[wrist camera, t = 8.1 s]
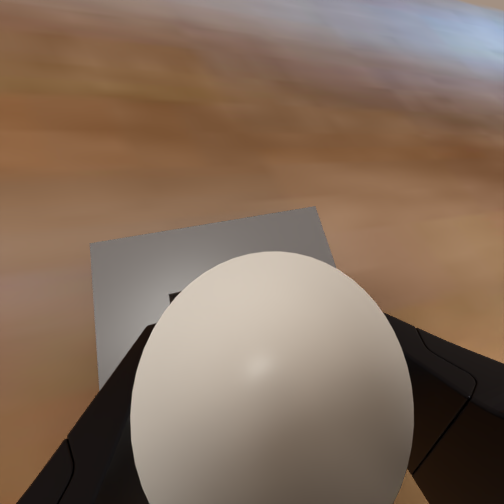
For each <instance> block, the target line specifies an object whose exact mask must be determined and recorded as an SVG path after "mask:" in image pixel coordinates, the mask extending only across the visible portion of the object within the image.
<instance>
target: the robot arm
mask: <svg viewBox="0 0 504 504" xmlns="http://www.w3.org/2000/svg"><path fill="white" fill-rule="evenodd" d="M383 313H384V312H383ZM384 315H385V316H386V318H387V320H388V322H389V323H390V325H391V327H392V328H393V330H394V332H395V334H396V337H397V339H398V341H399V343H400V346H401V348H402V351H403V354H404V357H405V360H406V363H407V366H408V371H409V376H410V380H411V385H412V394H413V403H414V429H413V439H412V447H411V452H410V457H409V462H408V467H407V469H408V470H409V472H410V473H411V475H412V477H413V479H414V480H415V482H416V483H417V485H418V486H419V488H420V490H421V491H422V493H423V494H424V496H425V497H426V499H427V501H428V502H429V504H504V364H503V363H501V362H498V361H496V360H493V359H490V358H488V357H485V356H483V355H480V354H478V353H475V352H473V351H470V350H468V349H465V348H463V347H460V346H458V345H455V344H453V343H450V342H448V341H446V340H443V339H441V338H439V337H437V336H434V335H432V334H430V333H428V332H425V331H423V330H421V329H419V328H415V327H414V326H412V325H410V324H408V323H406V322H403V321H401V320H399V319H397V318H395V317H392V316H390V315H388V314H386V313H384ZM156 324H157V323H155V324H151V325H148V326H146V328H145V329H144V330H143V332H142V333H141V334H140V336H139V337H138V339H137V340H136V341H135V343H134V344H133V345H132V347H131V348H130V350H129V351H128V352H127V354H126V355H125V357H124V358H123V359H122V361H121V362H120V363H119V365H118V366H117V368H116V369H115V370H114V372H113V373H112V375H111V376H110V377H109V379H108V380H107V381H106V383H105V384H104V386H103V387H102V388H101V390H100V391H99V392H98V394H97V395H96V397H95V398H94V399H93V401H92V402H91V404H90V405H89V406H88V408H87V409H86V410H85V412H84V413H83V415H82V416H81V417H80V419H79V420H78V421H77V423H76V424H75V426H74V427H73V428H72V430H71V431H70V433H69V434H68V435H67V438H68V439H65V440H64V441H63V442H62V443H61V445H60V446H59V448H58V449H57V450H56V452H55V453H54V454H53V456H52V457H51V459H50V460H49V461H48V463H47V464H46V465H45V467H44V468H43V469H42V471H41V472H40V473H39V475H38V476H37V477H36V479H35V480H34V481H33V483H32V484H31V485H30V487H29V488H28V489H27V490H26V492H25V493H24V494H23V495H22V497H21V498H20V499H19V500H18V502H17V503H16V504H149V502H148V499H147V497H146V495H145V493H144V491H143V489H142V485H141V482H140V479H139V475H138V472H137V469H136V466H135V460H134V454H133V448H132V442H131V422H130V413H131V401H132V391H133V386H134V381H135V377H136V372H137V368H138V365H139V362H140V359H141V356H142V353H143V350H144V347H145V345H146V343H147V341H148V339H149V337H150V335H151V333H152V330H153V329H154V327H155V325H156Z"/></svg>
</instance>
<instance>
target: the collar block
mask: <svg viewBox="0 0 504 504" xmlns="http://www.w3.org/2000/svg"><path fill="white" fill-rule="evenodd" d="M273 251H281V252H289V253H297V254H301V255H305V256H309V257H312V258H315V259H317V260H320V261H322V262H325V263H327V264H329V265H331V266H332V267H334V268H336V266H335V263H334V260H333V257H332V254H331V251H330V248H329V245H328V242H327V239H326V236H325V233H324V231H323V228H322V225H321V222H320V219H319V216H318V213H317V210H316V207H315V206H314V207H308V208H302V209H296V210H290V211H284V212H278V213H272V214H265V215H259V216H253V217H247V218H241V219H235V220H229V221H223V222H217V223H211V224H205V225H199V226H193V227H187V228H181V229H175V230H169V231H163V232H157V233H150V234H144V235H138V236H132V237H126V238H120V239H114V240H108V241H102V242H96V243H90V254H91V269H92V284H93V300H94V315H95V330H96V345H97V361H98V376H99V391H100V390H101V388H102V387H103V386H104V384H105V383H106V381H107V380H108V379H109V377H110V376H111V375H112V373H113V372H114V370H115V369H116V368H117V366H118V365H119V363H120V362H121V361H122V359H123V358H124V357H125V355H126V354H127V352H128V351H129V350H130V348H131V347H132V345H133V344H134V343H135V341H136V340H137V339H138V337H139V336H140V334H141V333H142V332H143V330H144V329H145V328H146V326H148V325H151V324H155V323H157V322H158V321H159V319H160V317H161V316H162V314H163V313H164V311H165V310H166V309H167V307H168V306H169V305H170V304H171V302H172V301H173V300H174V299H175V298H176V296H177V295H178V294H179V293H181V292H182V291H183V290H184V289H185V288H186V287H187V286H188V285H189V284H190V283H191V282H192V281H194V280H195V279H196V278H198V277H199V276H200V275H202V274H203V273H205V272H206V271H208V270H210V269H211V268H213V267H215V266H217V265H218V264H221V263H223V262H226V261H228V260H230V259H233V258H236V257H239V256H243V255H247V254H251V253H258V252H273ZM336 269H337V268H336Z"/></svg>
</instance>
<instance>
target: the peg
mask: <svg viewBox="0 0 504 504" xmlns="http://www.w3.org/2000/svg"><path fill="white" fill-rule="evenodd" d="M130 422H131V442H132V448H133V454H134V460H135V466H136V469H137V472H138V475H139V479H140V482H141V485H142V489H143V491H144V493H145V495H146V497H147V499H148V502H149V504H393V503H394V501H395V499H396V496H397V494H398V492H399V490H400V488H401V485H402V482H403V479H404V476H405V473H406V470H407V467H408V462H409V457H410V452H411V447H412V439H413V429H414V403H413V394H412V385H411V380H410V376H409V371H408V366H407V363H406V360H405V357H404V354H403V351H402V348H401V346H400V343H399V341H398V339H397V337H396V334H395V332H394V330H393V328H392V327H391V325H390V323H389V322H388V320H387V318H386V316H385V315H384V313H383V312H382V311H381V309H380V308H379V307H378V305H377V304H376V302H375V301H374V300H373V299H372V298H371V297H370V296H369V295H368V294H367V292H366V291H365V290H364V289H363V288H361V287H360V286H359V285H358V284H357V283H356V282H355V281H354V280H352V279H351V278H350V277H348V276H347V275H345V274H344V273H343V272H341V271H340V270H338V269H336V268H334V267H332V266H331V265H329V264H327V263H325V262H322V261H320V260H317V259H315V258H312V257H309V256H305V255H301V254H297V253H289V252H281V251H273V252H258V253H251V254H247V255H243V256H239V257H236V258H233V259H230V260H228V261H226V262H223V263H221V264H218V265H217V266H215V267H213V268H211V269H210V270H208V271H206V272H205V273H203V274H202V275H200V276H199V277H198V278H196V279H195V280H194V281H192V282H191V283H190V284H189V285H188V286H187V287H186V288H185V289H184V290H183V291H182V292H181V293H179V294H178V295H177V296H176V298H175V299H174V300H173V301H172V302H171V304H170V305H169V306H168V307H167V309H166V310H165V311H164V313H163V314H162V316H161V317H160V319H159V321H158V322H157V324H156V325H155V327H154V329H153V330H152V333H151V335H150V337H149V339H148V341H147V343H146V345H145V347H144V350H143V353H142V356H141V359H140V362H139V365H138V368H137V372H136V377H135V381H134V386H133V391H132V401H131V413H130Z"/></svg>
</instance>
